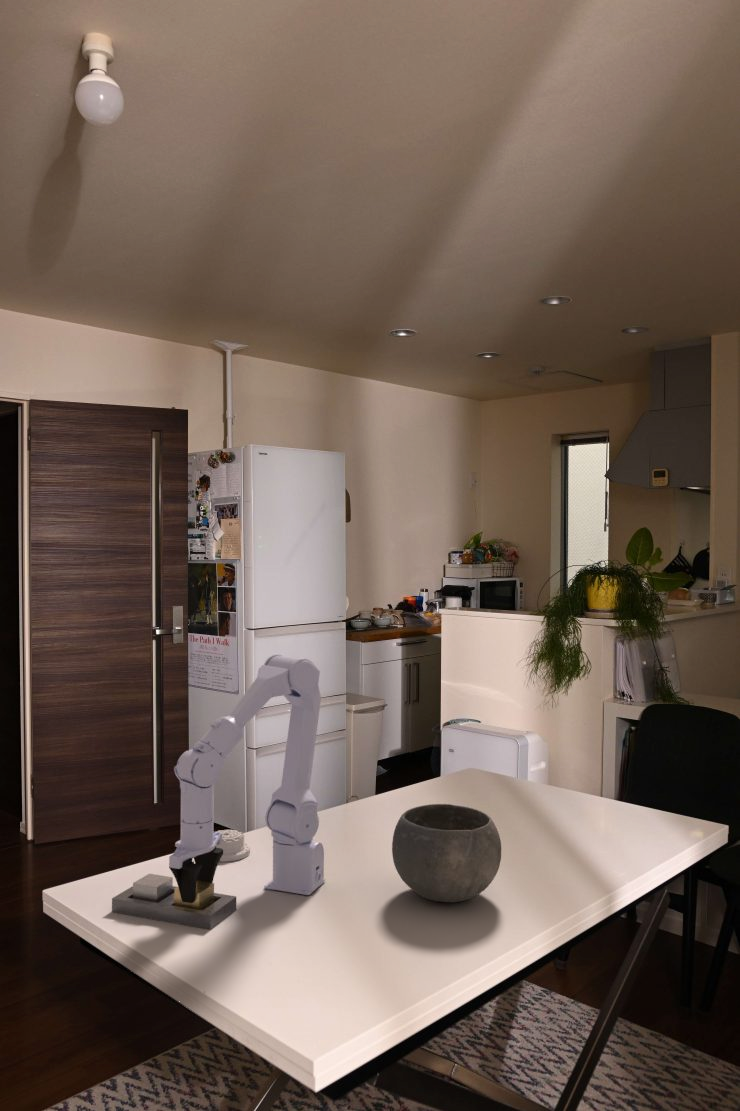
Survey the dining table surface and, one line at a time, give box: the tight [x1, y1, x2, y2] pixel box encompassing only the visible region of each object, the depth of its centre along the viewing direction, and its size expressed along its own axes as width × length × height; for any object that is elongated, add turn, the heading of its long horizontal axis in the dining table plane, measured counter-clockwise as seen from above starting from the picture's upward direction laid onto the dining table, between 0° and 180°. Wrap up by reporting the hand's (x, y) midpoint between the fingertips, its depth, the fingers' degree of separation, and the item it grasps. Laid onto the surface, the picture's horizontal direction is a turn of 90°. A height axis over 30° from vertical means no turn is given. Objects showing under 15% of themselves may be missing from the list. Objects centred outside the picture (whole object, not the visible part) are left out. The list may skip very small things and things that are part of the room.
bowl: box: [391, 803, 502, 903], centre depth 169 cm, size 20×20×15 cm
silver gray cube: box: [132, 873, 174, 903], centre depth 163 cm, size 5×5×5 cm
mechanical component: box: [216, 829, 251, 863], centre depth 191 cm, size 10×4×10 cm
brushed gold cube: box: [174, 880, 215, 911], centre depth 160 cm, size 5×5×5 cm
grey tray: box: [111, 885, 237, 930], centre depth 161 cm, size 20×9×2 cm, turn 70°
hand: (196, 896), depth 159 cm, fingers closed on brushed gold cube, 5 cm apart
